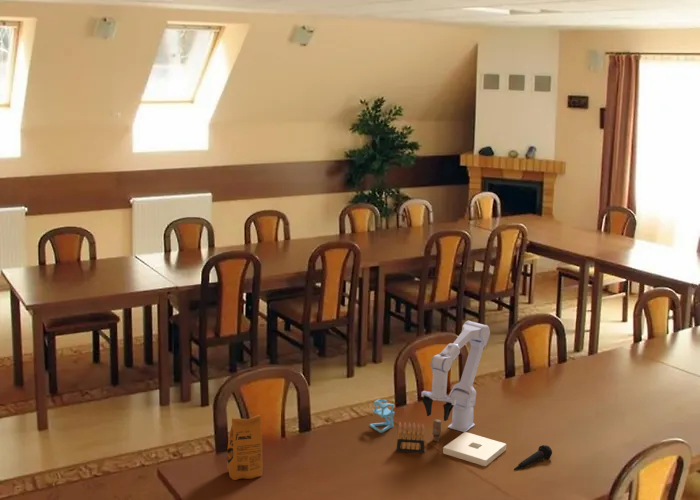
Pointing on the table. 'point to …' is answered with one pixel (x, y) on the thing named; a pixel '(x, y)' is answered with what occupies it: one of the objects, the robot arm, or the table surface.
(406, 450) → the ammunition clip
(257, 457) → the coffee package
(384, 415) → the light blue bar frame
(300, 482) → the table surface
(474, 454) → the cream board
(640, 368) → the table surface
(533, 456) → the microphone
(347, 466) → the table surface
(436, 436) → the walnut peg
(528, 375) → the table surface
